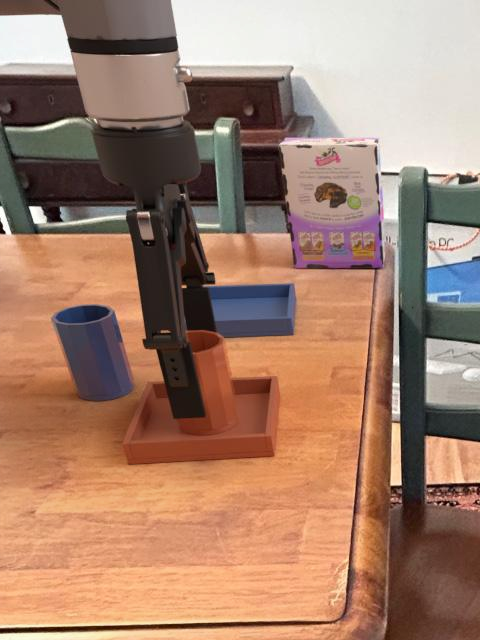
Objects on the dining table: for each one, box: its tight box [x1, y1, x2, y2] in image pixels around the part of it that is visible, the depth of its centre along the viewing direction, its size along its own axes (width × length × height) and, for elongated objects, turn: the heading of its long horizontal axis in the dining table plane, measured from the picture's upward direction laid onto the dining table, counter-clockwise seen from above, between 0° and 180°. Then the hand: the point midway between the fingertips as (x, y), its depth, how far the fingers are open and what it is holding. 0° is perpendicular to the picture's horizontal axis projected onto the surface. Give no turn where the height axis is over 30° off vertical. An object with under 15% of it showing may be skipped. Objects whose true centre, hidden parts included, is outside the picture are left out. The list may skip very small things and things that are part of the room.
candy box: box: [278, 137, 386, 269], centre depth 108 cm, size 14×6×16 cm, turn 90°
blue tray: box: [184, 282, 297, 339], centre depth 95 cm, size 13×13×2 cm
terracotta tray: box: [121, 375, 281, 465], centre depth 72 cm, size 13×13×2 cm
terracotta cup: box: [176, 330, 239, 435], centre depth 70 cm, size 6×6×8 cm
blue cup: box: [50, 303, 135, 402], centre depth 76 cm, size 6×6×8 cm
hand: (199, 383), depth 70 cm, fingers open, 13 cm apart
